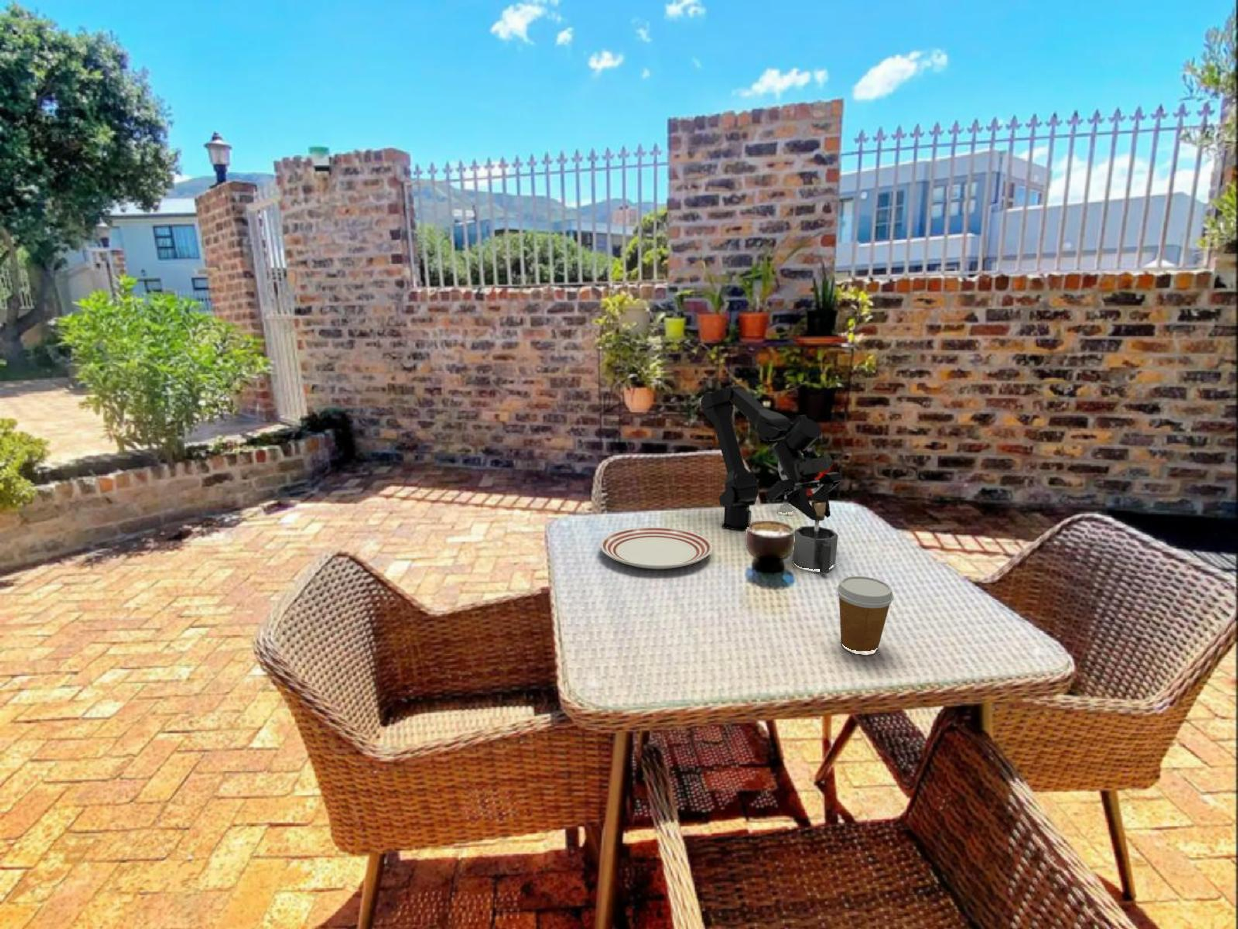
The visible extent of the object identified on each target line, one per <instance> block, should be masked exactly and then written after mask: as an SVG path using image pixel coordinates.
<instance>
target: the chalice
mask: <svg viewBox="0 0 1238 929" xmlns="http://www.w3.org/2000/svg"><path fill="white" fill-rule="evenodd" d="M801 453H802V452H801ZM802 455H803V456H804V453H802ZM777 461H778V460H777ZM782 470H783V469H782V467H781V465H780V463H779V461H778V465H777V471H778V473H779V477H780V479H781V480H787V477H786V475H783V476H782V475H781V473H780V472H781V471H782ZM783 498H784V500H785V499H787V497H786V494H784V497H783ZM782 504H783V505H782ZM782 504H781V505H779V508H778V510H777V511H778V512H782V513H786V512H787V513H788V512H792V511H793V510H794V506H792V505H791V504H789V503H785V502H783V503H782Z"/></svg>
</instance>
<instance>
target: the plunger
mask: <svg viewBox="0 0 1238 929" xmlns="http://www.w3.org/2000/svg"><path fill="white" fill-rule="evenodd" d="M810 505H811V507H812V509H813V511H814V513H815V516H816V519H815V520H814V525H813V526H814V537H813V538H814V539H818V531H819V527H820V522H821V521H824V520H825V519H826V518H825V517H826V516H825V507H826V502H824V501H820V500H811V503H810Z"/></svg>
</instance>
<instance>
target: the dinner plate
mask: <svg viewBox="0 0 1238 929" xmlns="http://www.w3.org/2000/svg"><path fill="white" fill-rule="evenodd" d="M599 546H600V550H601V551H602V552H603V554H605V555H606V556H607V557H609V558H610V559H612V560H614V561H617V562H619V563H622V564H625V565H628V566H632V567H636V568H640V569H645V570H646V569H647V570H668V569H675V568H681V567H686V566H689V565H692V564H695V563H698V562H700V561H702V560H703V559H705V558H707V557H708V556H709V555H710V554H711V553H712V551H713V544H712V542H710V540H709V539H708V538H706V537H704V536H702V535H700V534H698V533H695V532H692V531H689V530H685V529H680V528H674V527H673V528H672V527H663V526H645V527H643V526H642V527H632V528H628V529H627V528H626V529H623V530H618V531H614V532H611V533H610V534H609V535H606V536H605V537H604V538H603V539H602V540H601V541H600V545H599Z"/></svg>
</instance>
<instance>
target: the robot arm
mask: <svg viewBox="0 0 1238 929" xmlns="http://www.w3.org/2000/svg"><path fill="white" fill-rule="evenodd" d="M700 406H701V408H702V411H703V413H704V415H705V417H706V419H708V420H709V422H711V424H713V427H714V431H715V433H716V434H715V435H716V436H717V440H718V445H719V447H720V451H721V454H722V458H723V459H722V460H723V463H724V466H725V469H726V473H727V474H726V478H725V482H724V488H725V490H724V491H723V492H722V493H721V494H720V495H719V497H718V501H719V505H720V506H723V509H724V511H723V512H724V514H723V524H722V525H721V528H723V527H728V528H727V529H729V528H733V529H732V530H735V529H737V530H736V531H742V532H744V531H746V530H747V529H746V527H747V526H748V525H749V524H750V523H751V522H752V521H751V520H752V510H751V509H750V506H755V505H756V501H757V498H758V496H759V491H760V489H759V486H760V484H759V482H758V480H757V476H756V473H755V471H749V470H748V469H747V468H746V466H745V463H744V458H743V456H742V452H741V448H740V446H739V441H738V439H737V435H736V431H735V428H734V424H733V422H732V416H733V413H734V411H735V409H734V407H735V408H736V409H738V411H740V412H741V413H742V415H744V416H745V417H746V418H747V419H748V420H750V421H751V422H752V423H753V425H754V429H755V432H756V433H757V434H758V435H759V437H760V438H761V439H762V441H765V442H771V441H777V442H775V444H770V446H769V450H768V454H767V455H768V456H769V457H773V456H774V457H775V456H776V459H777V461H779V463H780V465H781V467H782V469H783V470H782V471H781V472H780V473H781V475H782V476H783V475H786V477H787V480H782V479H781V480H778V481H776V483H774V485H772V487H770V489H768V491H767V492H768V494H767V495H768V498H769V500H770V502H771V503H775V502H779V501H782V500H783V498H784V497H783V495H785V494H786V497H787V499H785V498H784V501H783V503H789V505H791V506H792V507H793V508H795V509H796V510H798V511H799V512H800V513H802V514H803V515H805V516H806V517H808V518H809V519H810V520H812V521H815V519H816V516H815V513H814V511H813V509H812V507H811V503H810V501H809V499H808V495H807V494H808V493H807V492H808V491H809V490H810V491H811V493H812V495H810V499H811V501H813V500H820V501H824V502H826V507H825V517H826V518H829V517H830V516H831V510H830V509H831V508H830V499H829V492H831V491H832V490H833V489H835V488H836V487H838V485H840V484H841V483H842V482H843V481H844V480H843V478H842V476H841V475H840V472H837V471H833V472H828V471H830V470H831V469H830V468H831V467H833V465H834V462H833V458H832V457H831V455H830V454H829V453H825V454H823V453H822V455H820V454H819V455H818V458H812V459H810V458H809V457H804V454H803V455H802V452H804V451H806V450H808V448H809V447H810V446H812V444H814V442H815V441H816V440H817V439H818V438H819V437H821V434H822V430H821V426H820V425H819V424H817V422H815V421H814V420H813V419H811V418H808V416H807V415H806V414H802V415H798V416H797V417H796V418H795V420H794V421H793V422H791V420H790V419H789V418H788V417H787V416H785V415H783V414H781V413H780V412H776V411H773V410H770V409H768V408H767V407H765V406H764V405H763V404H762V403H761V402H759V401H758V400H757V399H756V398H754V397H753V396H752V395H751V394H750V393H749V392H747V391H746V390H745V387H744V386H743V385H738V384H737V385H728V386H725V387H723V388H721V389H718V390H716V391H707V392H705V393H703V396H702V397H701V400H700ZM825 471H826V473H824V474H823V475H822V476H821V474H820V473H823V472H825ZM819 476H820V477H819ZM818 477H819V478H818ZM817 478H818V479H817ZM751 524H752V523H751ZM751 524H750V525H751ZM750 525H749V526H750ZM747 528H748V527H747ZM745 529H746V530H745Z"/></svg>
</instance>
